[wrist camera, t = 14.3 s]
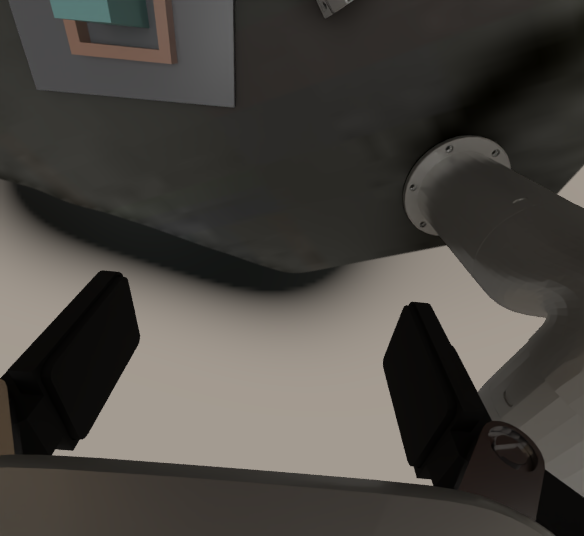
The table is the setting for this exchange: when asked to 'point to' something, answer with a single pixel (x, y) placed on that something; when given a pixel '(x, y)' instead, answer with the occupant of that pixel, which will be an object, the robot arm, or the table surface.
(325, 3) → the ink box
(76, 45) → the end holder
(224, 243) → the table surface
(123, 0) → the block
